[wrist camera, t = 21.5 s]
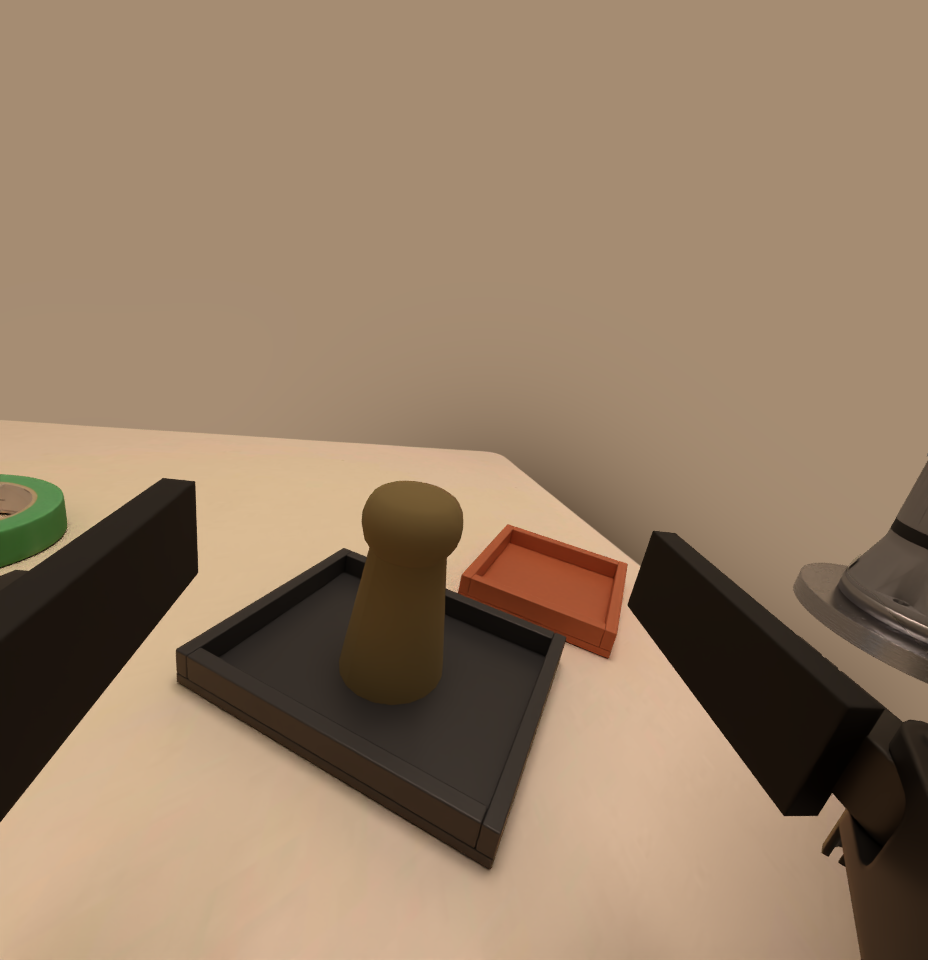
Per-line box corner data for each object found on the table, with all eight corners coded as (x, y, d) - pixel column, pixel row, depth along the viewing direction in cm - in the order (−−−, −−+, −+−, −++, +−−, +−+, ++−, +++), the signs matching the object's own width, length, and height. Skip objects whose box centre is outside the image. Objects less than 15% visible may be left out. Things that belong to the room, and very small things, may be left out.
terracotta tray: (621, 583, 41) (627, 563, 41) (608, 659, 31) (616, 634, 30) (503, 542, 45) (507, 523, 44) (456, 597, 35) (461, 574, 34)
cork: (421, 622, 30) (447, 469, 27) (459, 690, 25) (498, 513, 22) (329, 637, 27) (344, 468, 24) (351, 717, 22) (375, 518, 19)
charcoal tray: (559, 662, 30) (566, 636, 29) (490, 870, 18) (501, 835, 17) (341, 570, 35) (343, 547, 35) (176, 681, 23) (174, 649, 23)
